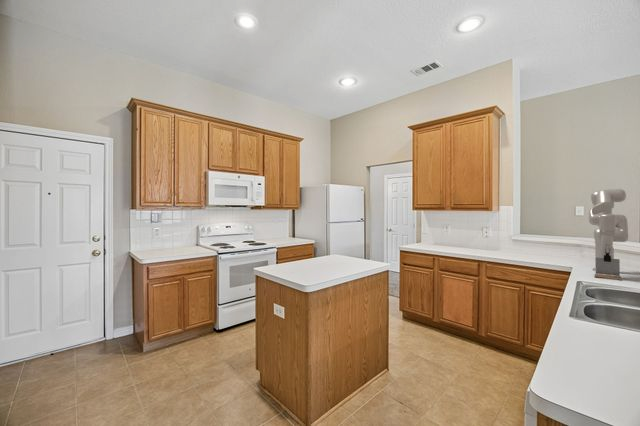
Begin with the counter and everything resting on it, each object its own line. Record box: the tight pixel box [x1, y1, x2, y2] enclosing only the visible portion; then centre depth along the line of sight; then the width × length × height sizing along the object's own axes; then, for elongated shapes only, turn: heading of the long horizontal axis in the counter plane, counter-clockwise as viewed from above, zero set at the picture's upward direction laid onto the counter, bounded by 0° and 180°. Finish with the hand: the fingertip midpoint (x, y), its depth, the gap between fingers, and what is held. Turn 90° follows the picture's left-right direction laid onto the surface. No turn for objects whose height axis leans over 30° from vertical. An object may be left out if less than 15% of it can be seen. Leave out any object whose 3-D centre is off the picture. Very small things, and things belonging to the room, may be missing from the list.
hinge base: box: [594, 273, 623, 282], centre depth 181 cm, size 13×12×2 cm
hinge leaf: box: [595, 257, 621, 277], centre depth 185 cm, size 13×11×2 cm
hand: (607, 261), depth 184 cm, fingers closed
